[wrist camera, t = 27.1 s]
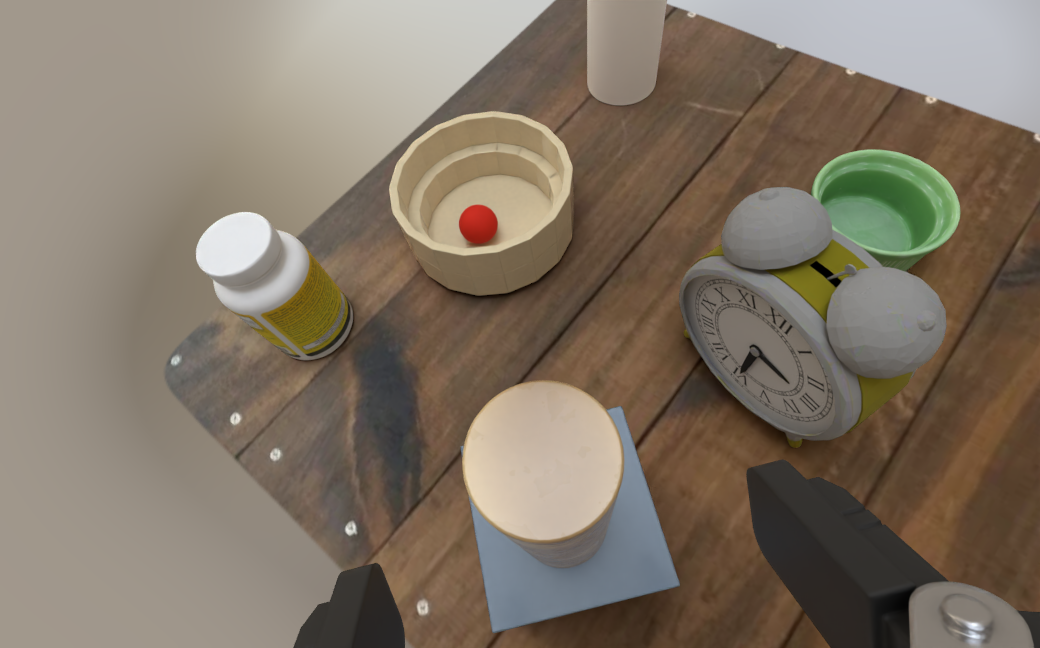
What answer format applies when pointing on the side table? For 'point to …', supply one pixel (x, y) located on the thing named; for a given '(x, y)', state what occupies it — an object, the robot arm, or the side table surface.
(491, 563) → the upright slate-blue block
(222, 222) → the pill bottle
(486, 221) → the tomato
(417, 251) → the bowl
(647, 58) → the candle
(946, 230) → the ramekin
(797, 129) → the side table surface
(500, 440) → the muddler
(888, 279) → the alarm clock
